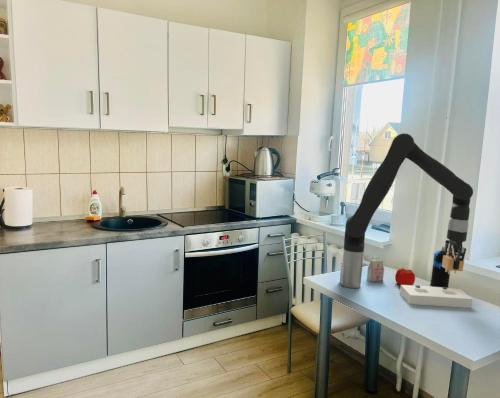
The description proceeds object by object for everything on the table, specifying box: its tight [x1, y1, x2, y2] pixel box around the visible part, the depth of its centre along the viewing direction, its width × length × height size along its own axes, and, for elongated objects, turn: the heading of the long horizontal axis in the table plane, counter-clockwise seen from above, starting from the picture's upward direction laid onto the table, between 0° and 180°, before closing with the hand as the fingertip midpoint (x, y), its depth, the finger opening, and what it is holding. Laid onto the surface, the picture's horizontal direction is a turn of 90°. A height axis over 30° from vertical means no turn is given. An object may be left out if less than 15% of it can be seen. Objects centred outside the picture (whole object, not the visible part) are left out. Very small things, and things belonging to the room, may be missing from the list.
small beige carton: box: [366, 259, 385, 283], centre depth 194 cm, size 4×7×10 cm, turn 107°
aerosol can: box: [429, 245, 451, 288], centre depth 189 cm, size 8×8×20 cm
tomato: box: [394, 267, 416, 286], centre depth 190 cm, size 9×9×8 cm
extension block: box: [399, 284, 473, 309], centre depth 173 cm, size 26×12×5 cm, turn 88°
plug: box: [442, 253, 465, 275], centre depth 170 cm, size 6×6×9 cm
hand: (452, 266), depth 170 cm, fingers closed on plug, 5 cm apart
